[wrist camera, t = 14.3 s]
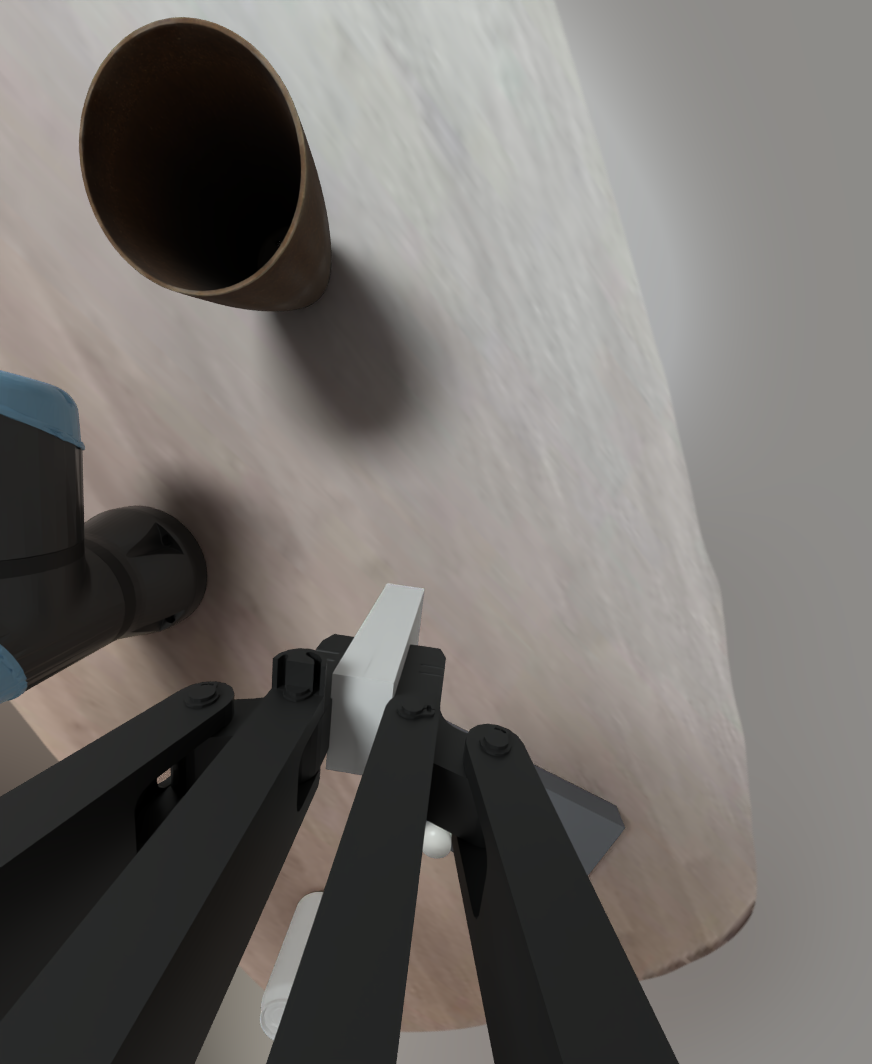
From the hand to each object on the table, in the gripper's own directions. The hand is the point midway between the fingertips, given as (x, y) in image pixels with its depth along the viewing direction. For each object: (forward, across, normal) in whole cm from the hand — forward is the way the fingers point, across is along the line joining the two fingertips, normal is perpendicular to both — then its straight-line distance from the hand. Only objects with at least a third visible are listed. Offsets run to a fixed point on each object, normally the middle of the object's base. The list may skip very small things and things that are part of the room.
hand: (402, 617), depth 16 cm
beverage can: (+30, -10, -60) cm, 68 cm away
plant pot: (+30, -18, +22) cm, 41 cm away
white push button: (+26, +4, -39) cm, 47 cm away
